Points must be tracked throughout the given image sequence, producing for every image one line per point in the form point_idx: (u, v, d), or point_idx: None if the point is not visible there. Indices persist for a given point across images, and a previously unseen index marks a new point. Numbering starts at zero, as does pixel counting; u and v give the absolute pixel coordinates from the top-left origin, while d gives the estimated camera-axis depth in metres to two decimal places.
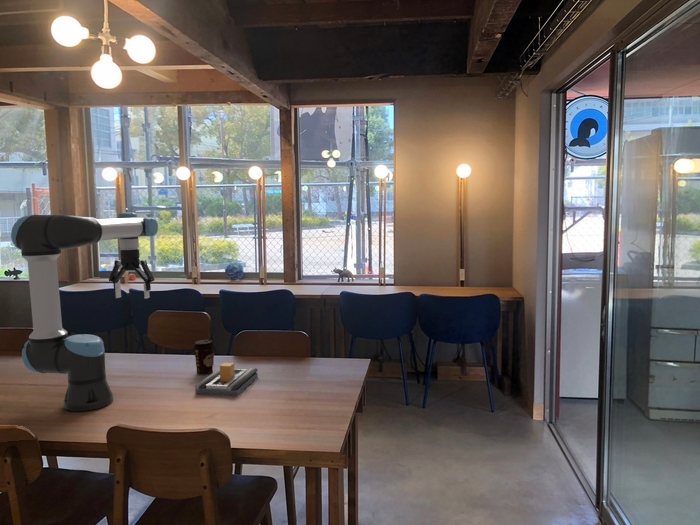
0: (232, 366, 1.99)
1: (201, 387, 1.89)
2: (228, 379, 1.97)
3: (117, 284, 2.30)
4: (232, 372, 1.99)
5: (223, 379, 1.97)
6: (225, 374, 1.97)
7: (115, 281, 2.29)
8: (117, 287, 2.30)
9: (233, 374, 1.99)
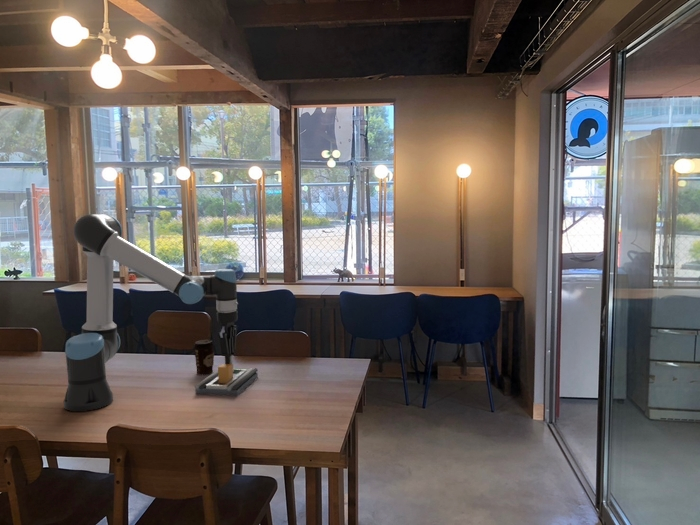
0: (230, 367, 1.97)
1: (201, 387, 1.89)
2: (226, 380, 1.96)
3: None
4: (231, 373, 1.98)
5: (221, 380, 1.96)
6: (224, 376, 1.96)
7: None
8: None
9: (231, 376, 1.98)
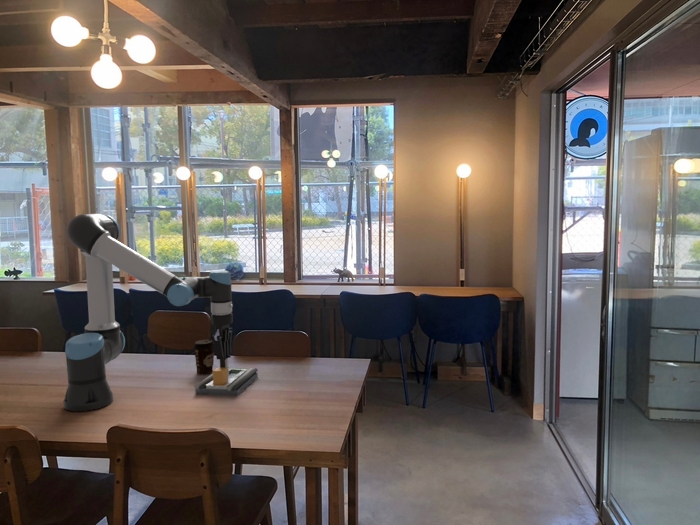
0: (225, 371, 1.93)
1: (201, 387, 1.89)
2: (221, 384, 1.91)
3: None
4: (226, 377, 1.93)
5: (216, 384, 1.91)
6: (218, 380, 1.91)
7: None
8: None
9: (226, 380, 1.93)
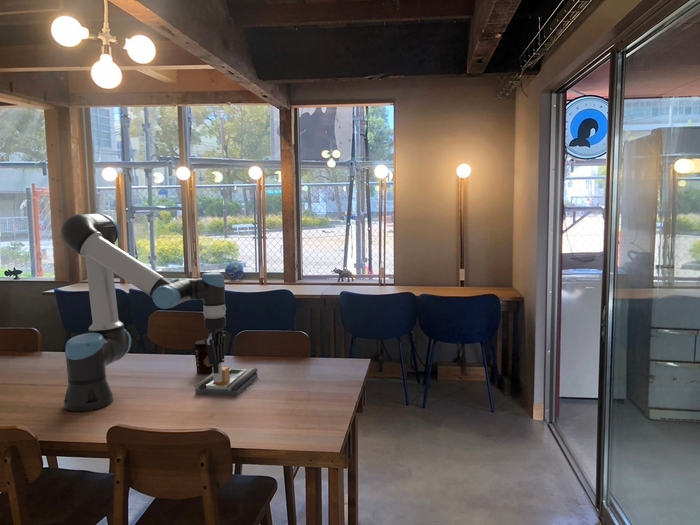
0: (227, 370, 1.94)
1: (201, 387, 1.89)
2: (223, 383, 1.92)
3: None
4: (227, 376, 1.95)
5: (218, 383, 1.93)
6: None
7: None
8: None
9: (228, 379, 1.95)
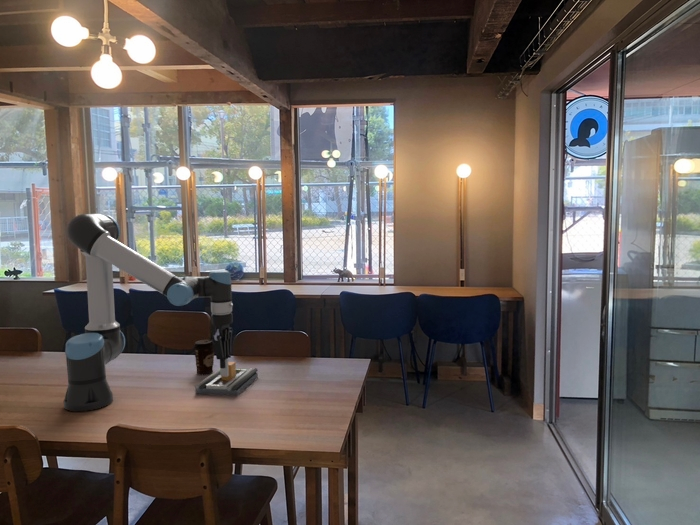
0: (233, 365, 2.00)
1: (201, 387, 1.89)
2: (229, 378, 1.98)
3: None
4: (234, 371, 2.00)
5: (224, 378, 1.99)
6: None
7: None
8: None
9: (234, 373, 2.00)
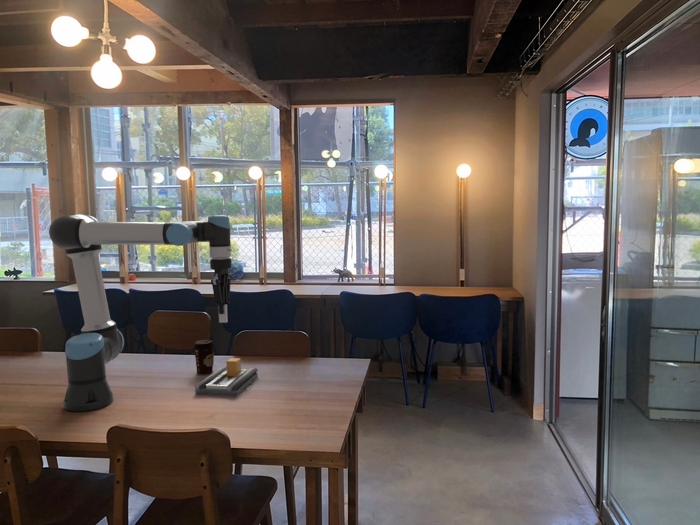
0: (238, 361, 2.05)
1: (201, 387, 1.89)
2: (234, 374, 2.03)
3: None
4: (239, 367, 2.05)
5: (230, 374, 2.03)
6: (232, 369, 2.03)
7: None
8: None
9: (239, 369, 2.05)
